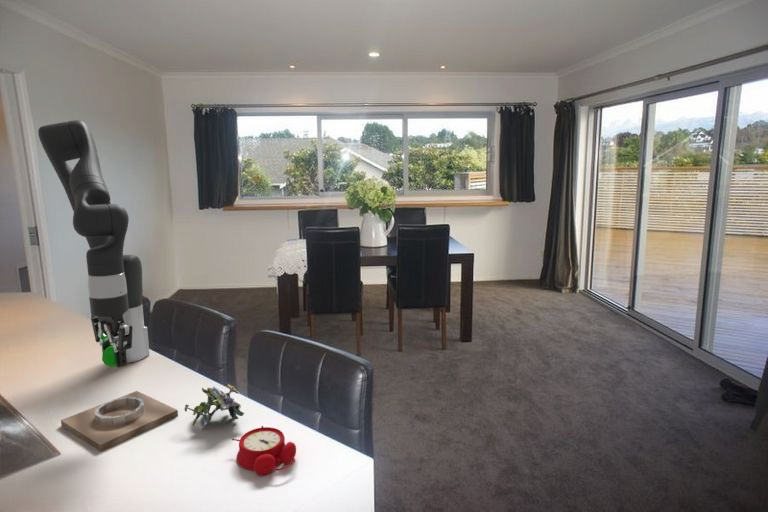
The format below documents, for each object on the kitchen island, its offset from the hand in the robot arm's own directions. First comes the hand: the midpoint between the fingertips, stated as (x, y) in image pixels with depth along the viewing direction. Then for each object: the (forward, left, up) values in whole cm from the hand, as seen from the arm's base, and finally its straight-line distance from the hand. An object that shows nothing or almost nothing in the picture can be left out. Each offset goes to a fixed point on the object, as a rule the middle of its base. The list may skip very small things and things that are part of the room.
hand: (115, 363), depth 110 cm
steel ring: (0, 0, -13) cm, 13 cm away
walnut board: (0, 0, -15) cm, 15 cm away
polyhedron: (0, 0, -1) cm, 1 cm away
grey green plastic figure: (-12, +20, -15) cm, 28 cm away
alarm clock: (-9, +40, -15) cm, 44 cm away
